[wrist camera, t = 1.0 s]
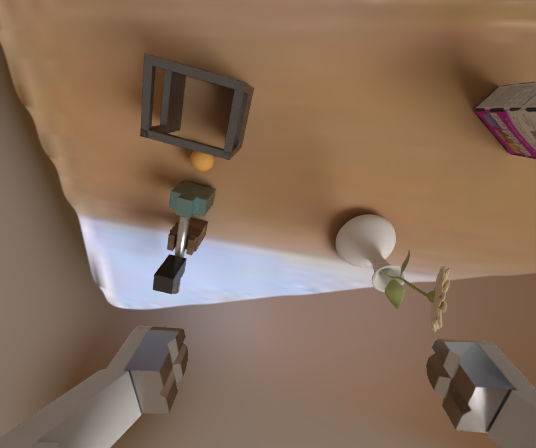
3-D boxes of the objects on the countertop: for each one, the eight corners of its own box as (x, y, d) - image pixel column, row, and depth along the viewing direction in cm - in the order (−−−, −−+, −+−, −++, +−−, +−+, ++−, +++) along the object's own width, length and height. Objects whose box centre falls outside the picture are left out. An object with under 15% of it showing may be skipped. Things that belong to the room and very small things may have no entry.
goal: (241, 147, 46) (229, 160, 35) (174, 128, 45) (140, 136, 34) (253, 88, 42) (244, 82, 31) (180, 67, 41) (144, 53, 30)
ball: (189, 154, 47) (181, 159, 43) (206, 141, 46) (199, 144, 42) (204, 172, 48) (197, 178, 44) (220, 160, 47) (215, 165, 43)
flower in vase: (375, 267, 55) (442, 381, 32) (325, 252, 54) (357, 359, 31) (407, 213, 50) (514, 304, 27) (352, 195, 49) (415, 274, 26)
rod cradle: (205, 234, 53) (193, 255, 46) (181, 228, 53) (165, 248, 46) (207, 221, 52) (195, 241, 45) (183, 215, 52) (166, 234, 44)
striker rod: (200, 272, 56) (177, 321, 44) (173, 266, 56) (141, 313, 43) (215, 189, 48) (192, 218, 36) (183, 180, 48) (149, 207, 35)
